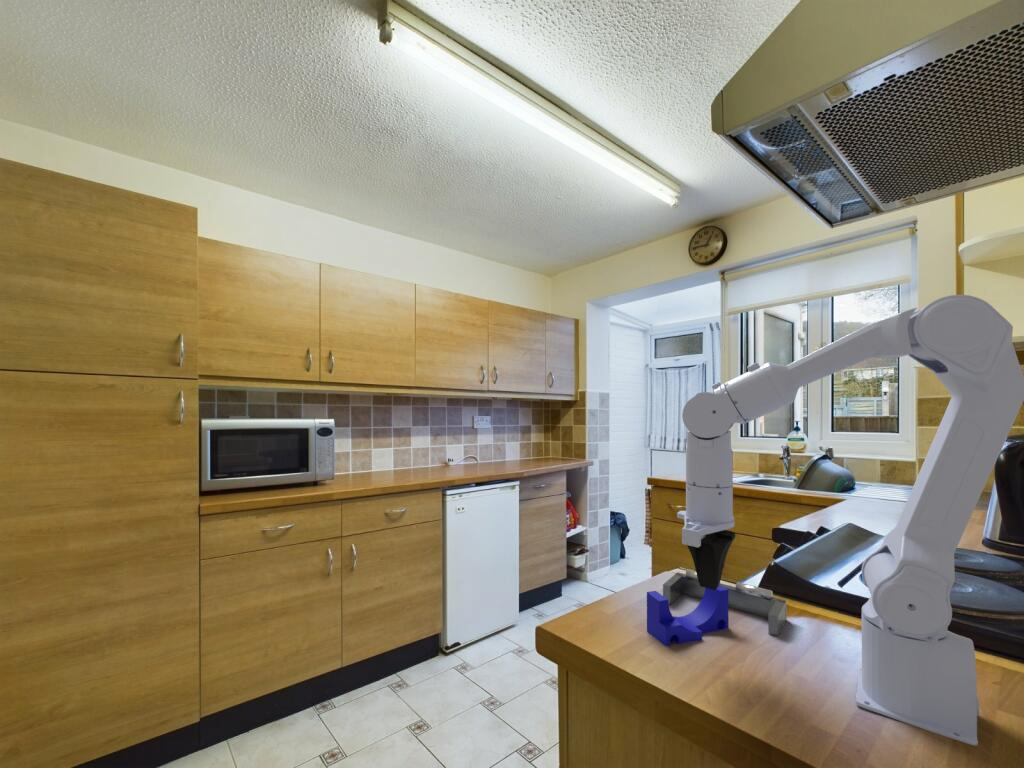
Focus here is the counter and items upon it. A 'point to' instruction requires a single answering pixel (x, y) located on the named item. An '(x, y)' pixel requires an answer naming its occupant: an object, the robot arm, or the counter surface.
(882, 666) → the robot arm
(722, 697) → the counter surface
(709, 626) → the blue pipe saddle
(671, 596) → the hinge bracket
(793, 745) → the counter surface
